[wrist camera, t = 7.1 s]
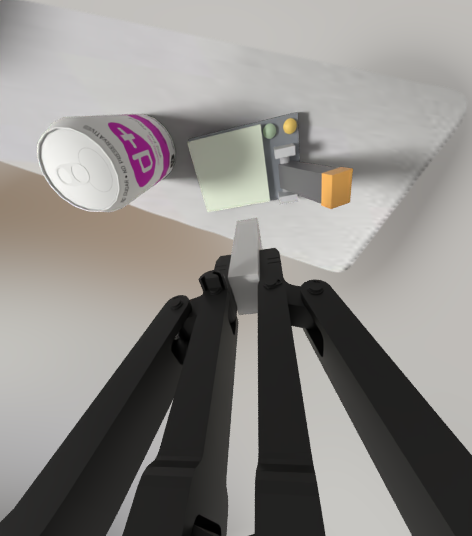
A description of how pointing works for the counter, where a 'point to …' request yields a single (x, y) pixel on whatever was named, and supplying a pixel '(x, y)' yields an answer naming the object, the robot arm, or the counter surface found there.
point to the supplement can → (105, 159)
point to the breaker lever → (316, 182)
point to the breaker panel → (245, 162)
